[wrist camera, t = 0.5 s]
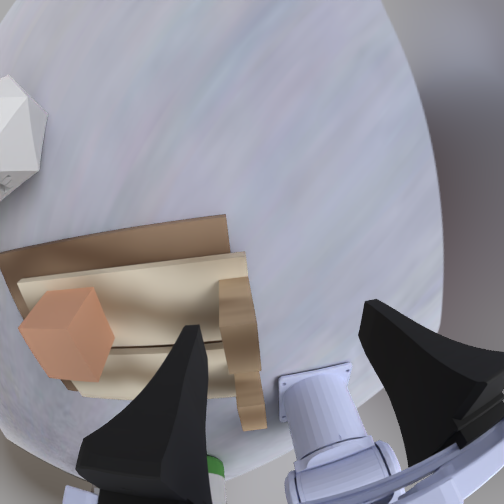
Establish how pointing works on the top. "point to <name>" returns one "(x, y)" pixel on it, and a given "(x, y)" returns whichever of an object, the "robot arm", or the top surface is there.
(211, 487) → the wine bottle
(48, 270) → the board
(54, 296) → the block
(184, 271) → the slat
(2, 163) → the die
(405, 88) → the top surface
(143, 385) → the empty slat
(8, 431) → the top surface
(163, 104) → the top surface
